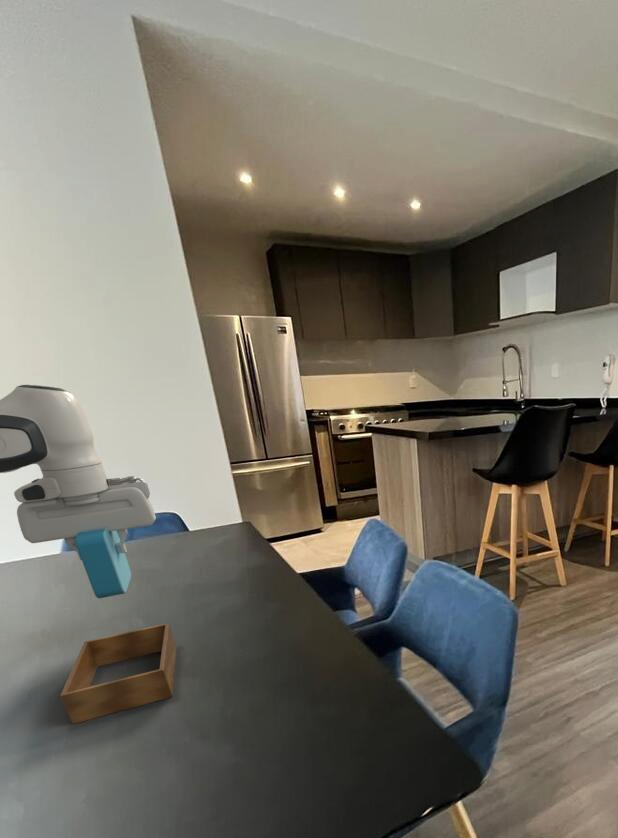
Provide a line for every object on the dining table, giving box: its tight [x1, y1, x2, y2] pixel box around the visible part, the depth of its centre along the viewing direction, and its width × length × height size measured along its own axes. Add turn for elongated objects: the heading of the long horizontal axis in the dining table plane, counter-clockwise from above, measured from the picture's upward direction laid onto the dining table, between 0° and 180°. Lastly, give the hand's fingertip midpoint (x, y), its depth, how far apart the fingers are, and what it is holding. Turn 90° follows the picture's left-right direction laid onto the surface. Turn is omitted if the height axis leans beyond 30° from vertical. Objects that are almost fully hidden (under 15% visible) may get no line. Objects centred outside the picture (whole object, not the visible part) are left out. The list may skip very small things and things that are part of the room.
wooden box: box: [60, 622, 177, 725], centre depth 81 cm, size 13×18×5 cm
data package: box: [75, 529, 132, 599], centre depth 93 cm, size 12×4×12 cm, turn 26°
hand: (104, 555), depth 93 cm, fingers closed on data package, 4 cm apart
